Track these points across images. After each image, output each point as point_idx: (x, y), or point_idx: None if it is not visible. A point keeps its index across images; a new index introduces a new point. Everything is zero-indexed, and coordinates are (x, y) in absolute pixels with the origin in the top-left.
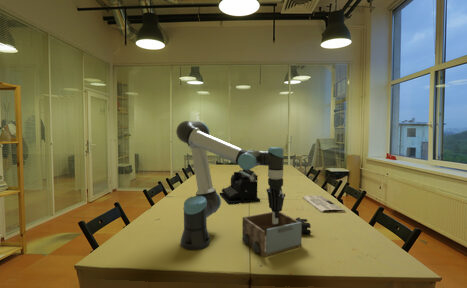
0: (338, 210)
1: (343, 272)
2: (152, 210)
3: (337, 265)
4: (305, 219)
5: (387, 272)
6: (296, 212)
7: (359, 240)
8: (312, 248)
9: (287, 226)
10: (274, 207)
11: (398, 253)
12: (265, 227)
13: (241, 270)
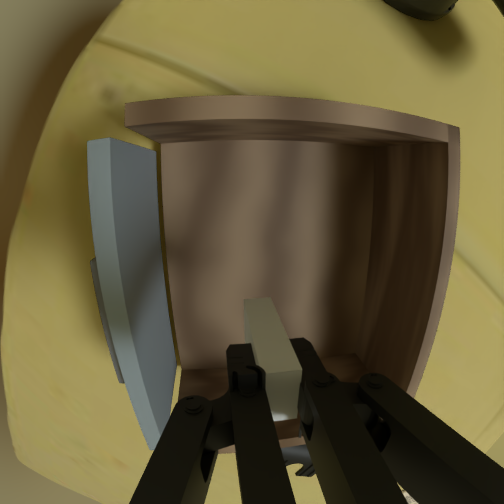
0: None
1: (11, 355)
2: None
3: (40, 371)
4: (310, 473)
5: (19, 427)
6: None
7: None
8: None
9: (119, 355)
10: (267, 422)
11: (91, 493)
12: (377, 291)
13: (122, 12)
